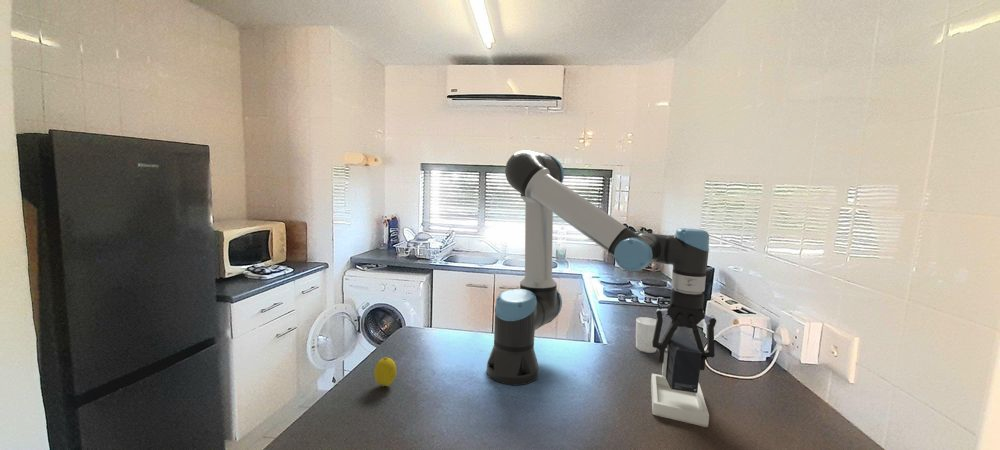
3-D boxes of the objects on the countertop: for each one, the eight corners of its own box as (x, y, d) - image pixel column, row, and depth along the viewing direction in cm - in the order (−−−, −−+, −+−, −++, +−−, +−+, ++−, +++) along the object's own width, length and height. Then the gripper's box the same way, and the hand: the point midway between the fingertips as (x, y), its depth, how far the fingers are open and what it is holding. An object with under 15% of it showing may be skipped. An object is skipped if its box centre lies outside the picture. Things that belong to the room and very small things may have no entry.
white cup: (661, 354, 125) (664, 325, 124) (638, 353, 125) (641, 324, 124) (652, 344, 133) (655, 317, 132) (630, 343, 133) (633, 316, 132)
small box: (699, 394, 89) (703, 352, 88) (670, 390, 91) (674, 349, 90) (687, 373, 100) (690, 335, 99) (661, 370, 101) (664, 332, 100)
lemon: (370, 386, 98) (370, 356, 97) (389, 378, 102) (389, 350, 101) (381, 394, 94) (381, 364, 93) (400, 386, 98) (400, 357, 97)
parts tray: (652, 414, 91) (653, 402, 90) (650, 383, 105) (651, 373, 105) (707, 427, 86) (709, 415, 86) (698, 393, 101) (699, 382, 101)
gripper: (645, 288, 93) (638, 376, 95) (736, 299, 86) (726, 393, 88) (645, 282, 100) (638, 363, 102) (729, 291, 93) (720, 379, 95)
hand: (679, 377), depth 95 cm, fingers closed on small box, 7 cm apart
